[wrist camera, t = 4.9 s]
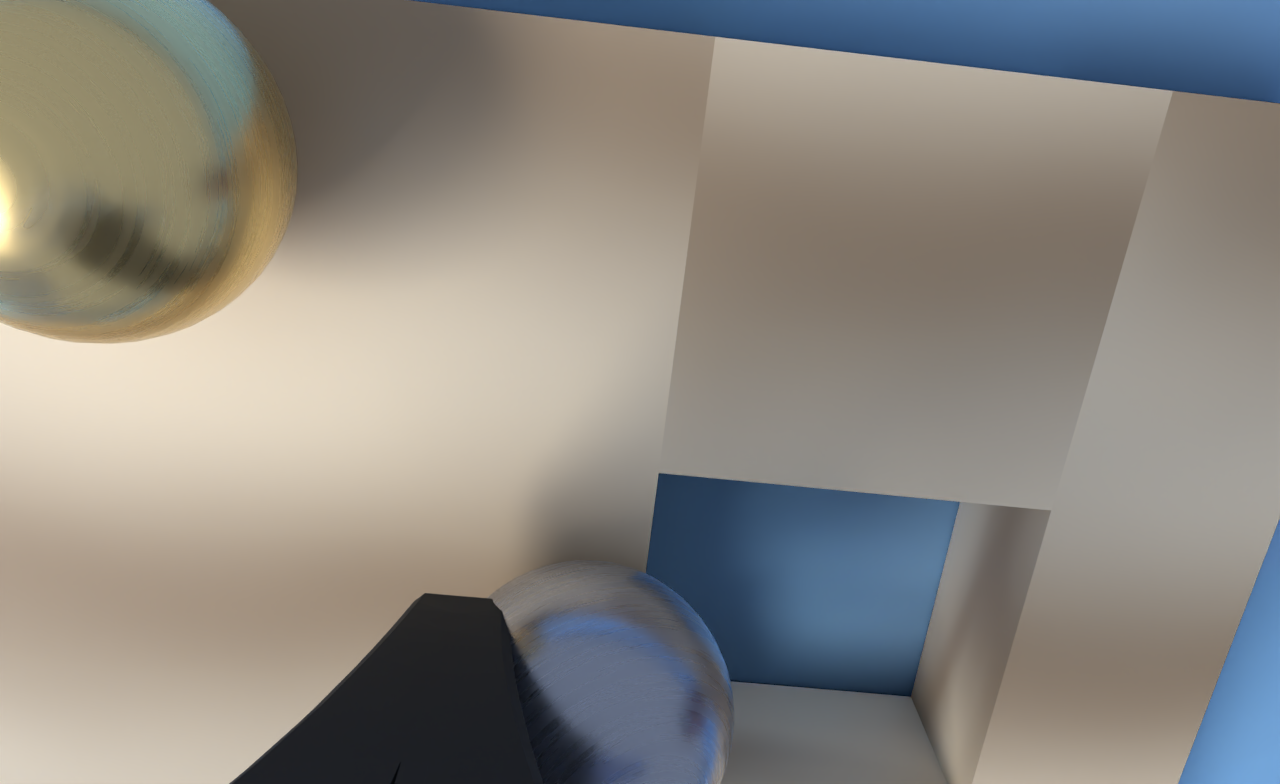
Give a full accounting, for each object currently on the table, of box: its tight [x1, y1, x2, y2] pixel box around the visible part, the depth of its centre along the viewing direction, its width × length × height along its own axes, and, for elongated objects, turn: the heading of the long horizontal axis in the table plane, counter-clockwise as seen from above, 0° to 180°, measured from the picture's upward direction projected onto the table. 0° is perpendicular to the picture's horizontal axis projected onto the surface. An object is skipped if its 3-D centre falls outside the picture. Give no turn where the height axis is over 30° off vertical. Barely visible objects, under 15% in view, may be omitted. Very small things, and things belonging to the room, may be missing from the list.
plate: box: [0, 0, 1280, 784], centre depth 13 cm, size 15×17×2 cm
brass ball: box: [0, 0, 298, 344], centre depth 8 cm, size 3×3×3 cm
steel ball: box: [487, 560, 734, 784], centre depth 10 cm, size 3×3×3 cm
